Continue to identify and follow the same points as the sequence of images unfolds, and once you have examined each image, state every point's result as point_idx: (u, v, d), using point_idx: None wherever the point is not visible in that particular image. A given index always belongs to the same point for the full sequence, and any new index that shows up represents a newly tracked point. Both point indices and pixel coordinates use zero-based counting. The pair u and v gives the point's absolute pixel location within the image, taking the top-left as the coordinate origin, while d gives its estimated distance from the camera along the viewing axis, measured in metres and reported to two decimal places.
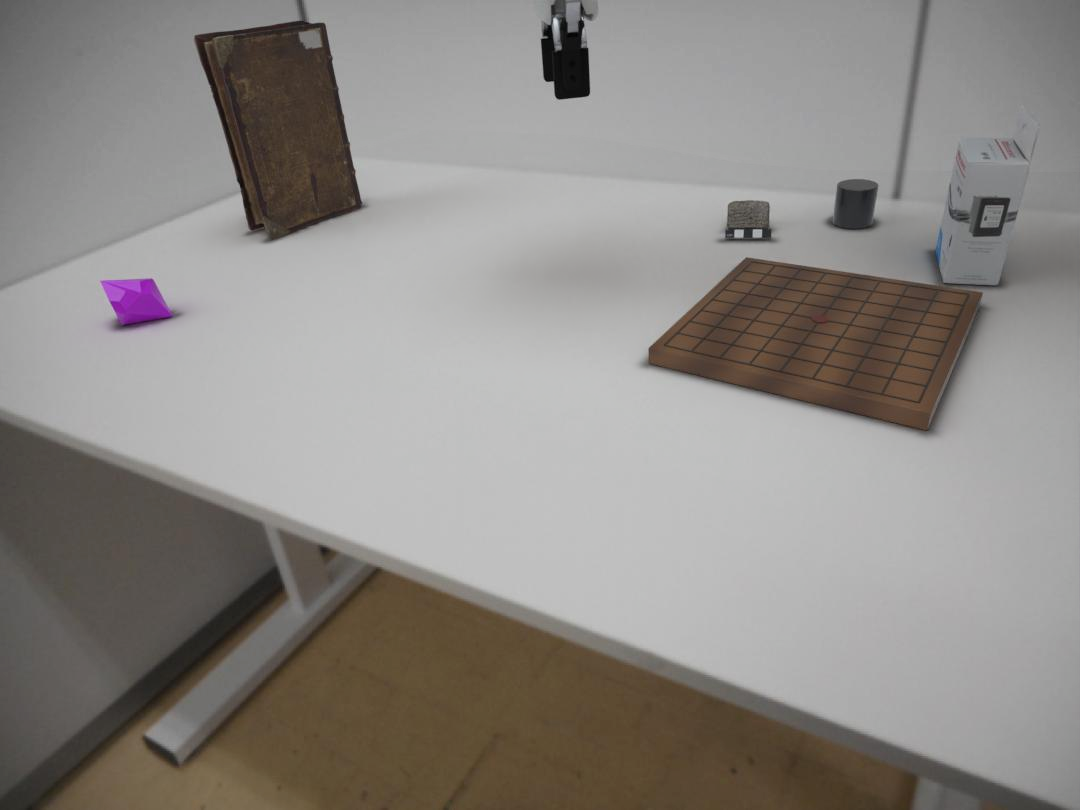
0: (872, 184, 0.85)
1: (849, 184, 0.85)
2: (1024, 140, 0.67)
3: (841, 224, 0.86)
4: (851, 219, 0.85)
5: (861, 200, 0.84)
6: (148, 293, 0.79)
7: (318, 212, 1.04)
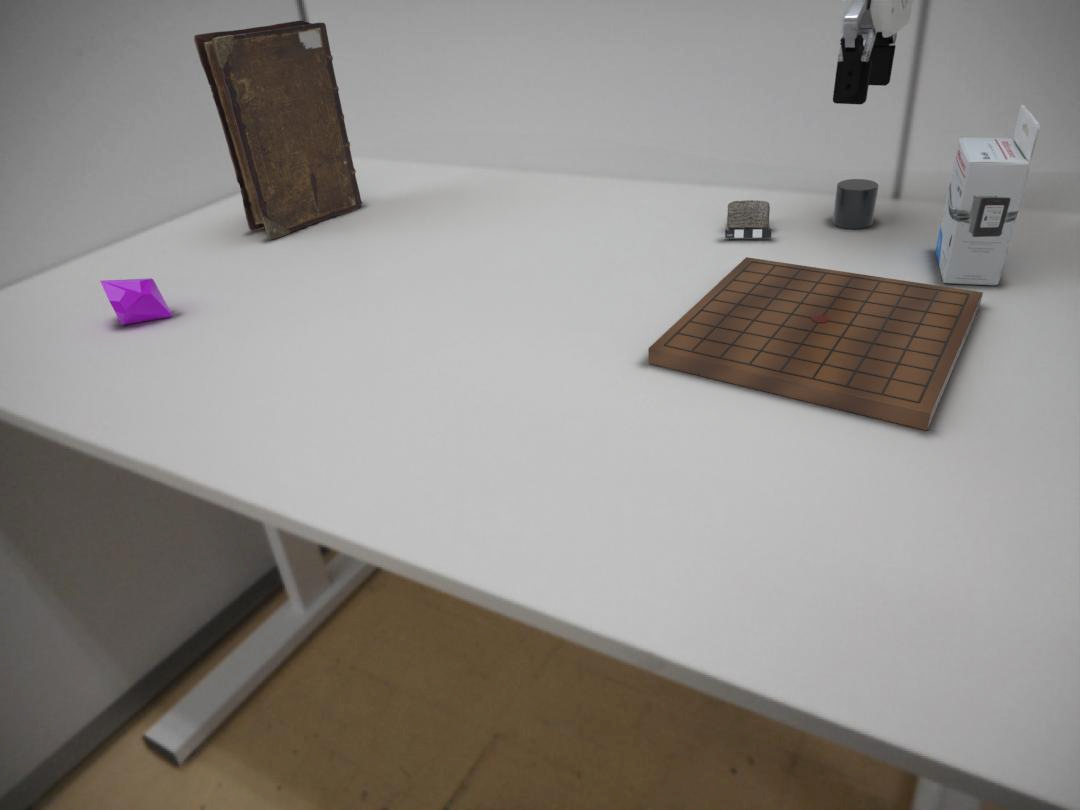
0: (872, 184, 0.85)
1: (849, 184, 0.85)
2: (1024, 140, 0.67)
3: (841, 224, 0.86)
4: (851, 219, 0.85)
5: (861, 200, 0.84)
6: (148, 293, 0.79)
7: (318, 212, 1.04)
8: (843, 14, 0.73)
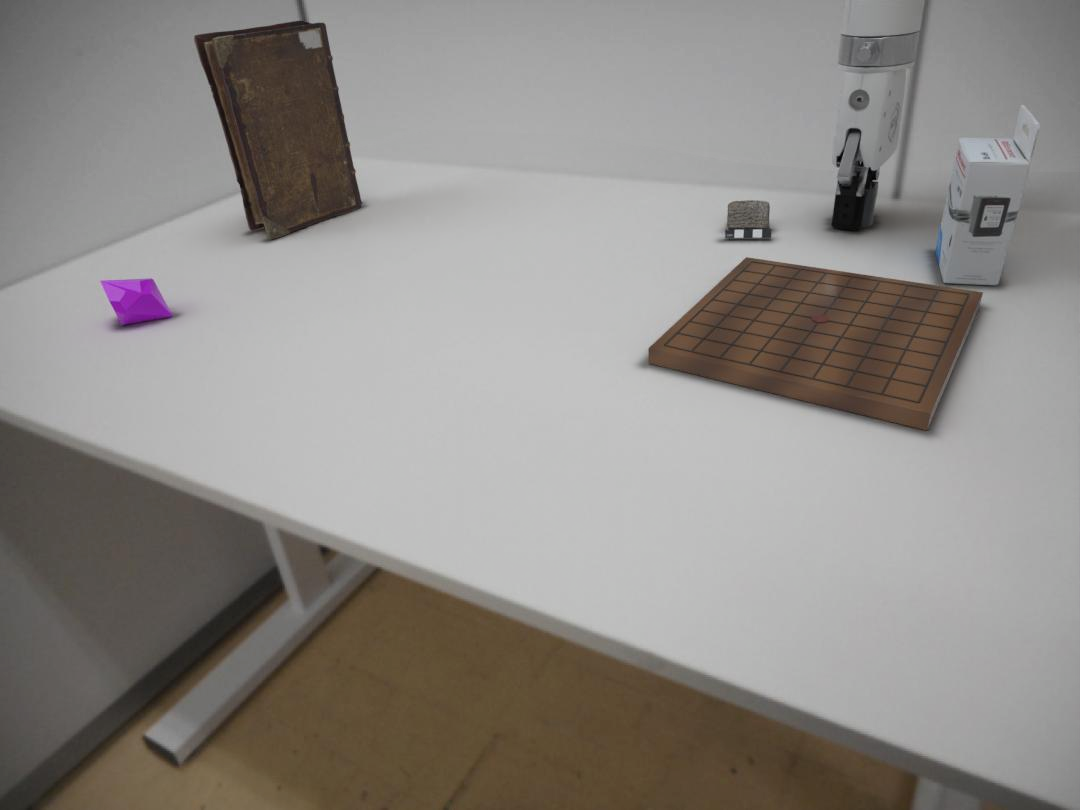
0: (872, 184, 0.85)
1: None
2: (1024, 140, 0.67)
3: None
4: None
5: None
6: (148, 293, 0.79)
7: (318, 212, 1.04)
8: (835, 149, 0.80)
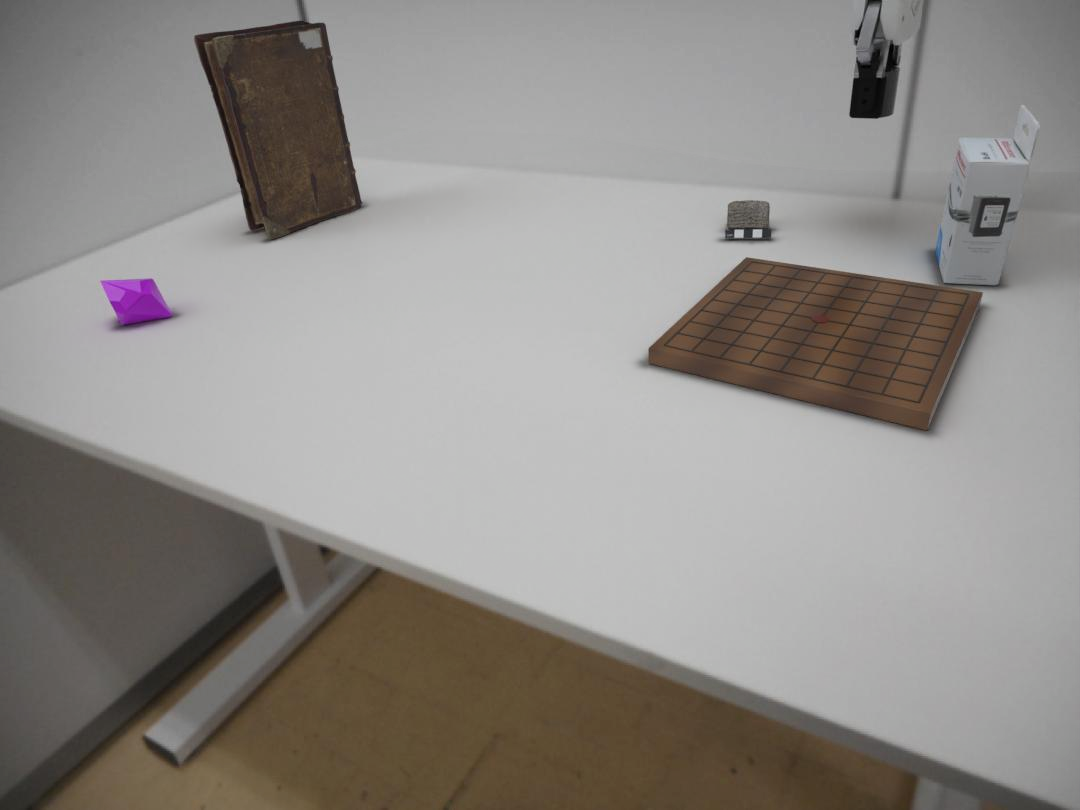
0: (893, 68, 0.78)
1: None
2: (1024, 140, 0.67)
3: None
4: None
5: None
6: (148, 293, 0.79)
7: (318, 212, 1.04)
8: (853, 23, 0.73)
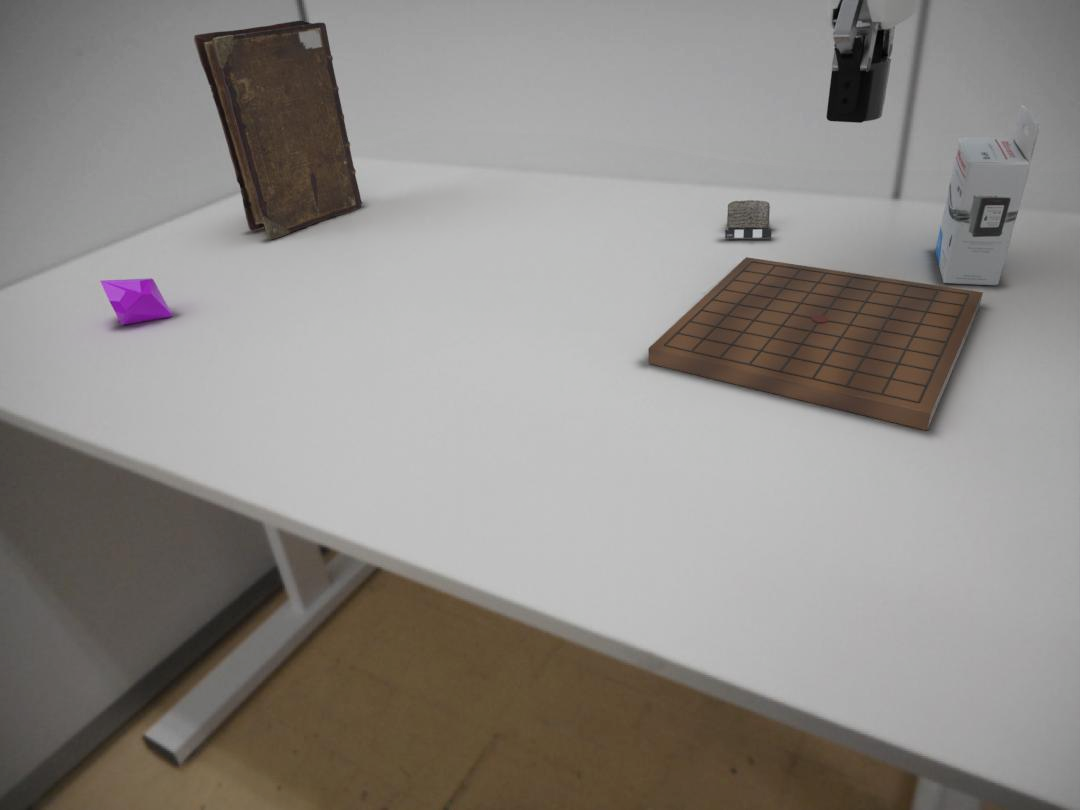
0: (882, 59, 0.62)
1: None
2: (1024, 140, 0.67)
3: None
4: None
5: None
6: (148, 293, 0.79)
7: (318, 212, 1.04)
8: (831, 0, 0.57)
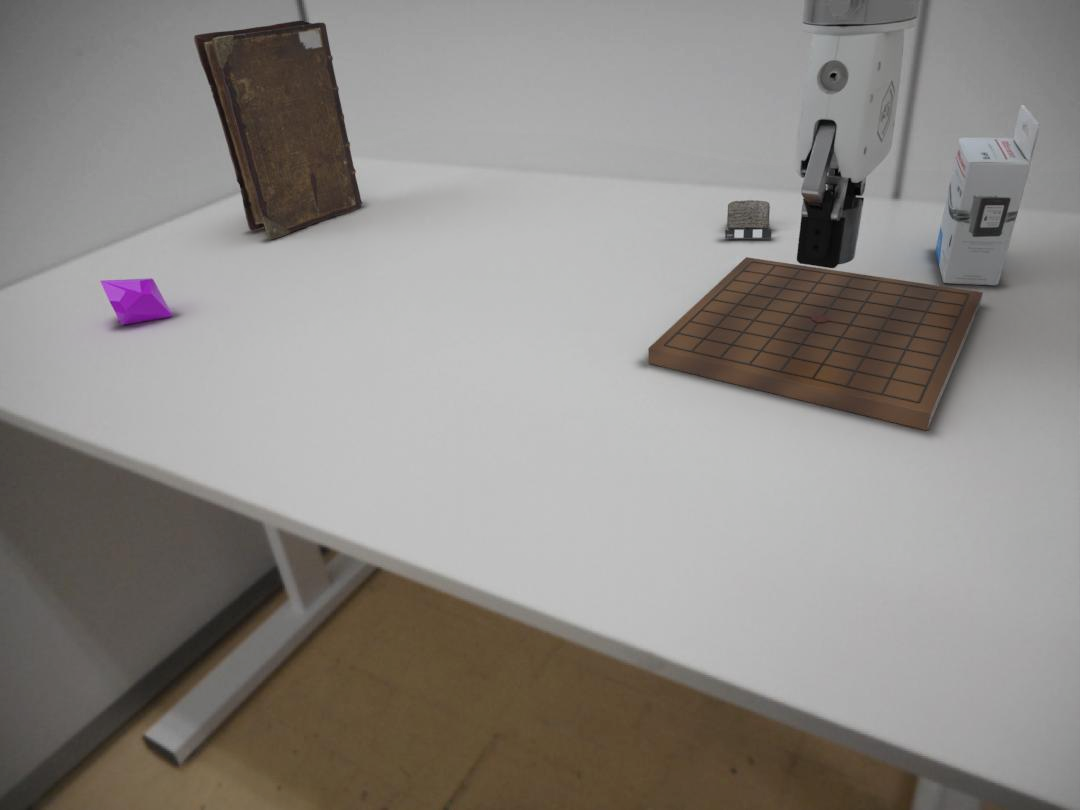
0: (854, 202, 0.59)
1: None
2: (1024, 140, 0.67)
3: None
4: None
5: None
6: (148, 293, 0.79)
7: (318, 212, 1.04)
8: (799, 151, 0.54)
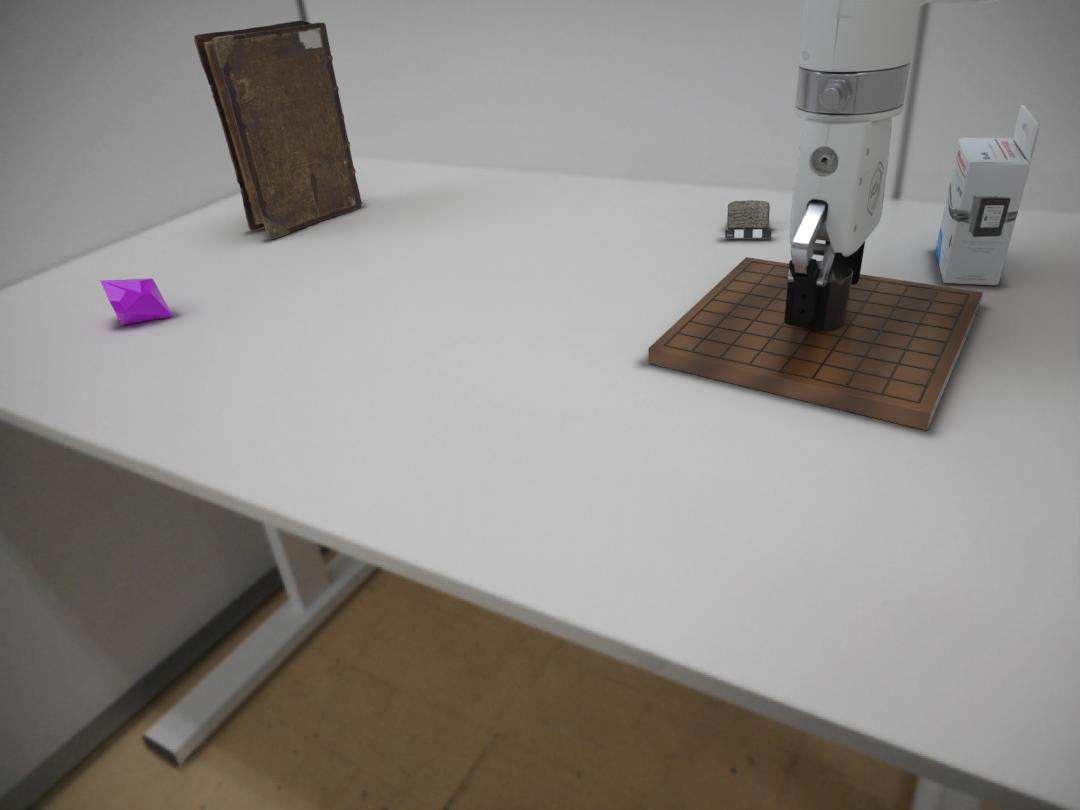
0: (845, 271, 0.62)
1: None
2: (1024, 140, 0.67)
3: None
4: None
5: None
6: (148, 293, 0.79)
7: (318, 212, 1.04)
8: (793, 227, 0.57)
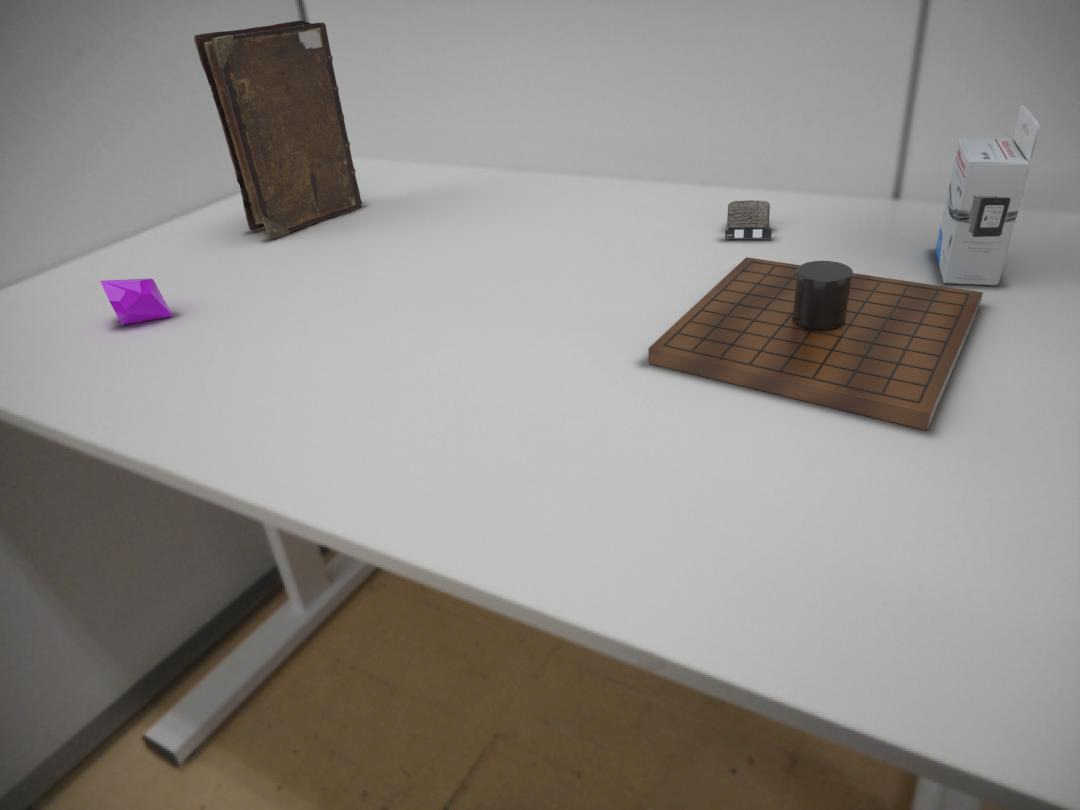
0: (845, 271, 0.62)
1: (813, 270, 0.62)
2: (1024, 140, 0.67)
3: (803, 323, 0.64)
4: (816, 317, 0.62)
5: (829, 294, 0.61)
6: (148, 293, 0.79)
7: (318, 212, 1.04)
8: None
